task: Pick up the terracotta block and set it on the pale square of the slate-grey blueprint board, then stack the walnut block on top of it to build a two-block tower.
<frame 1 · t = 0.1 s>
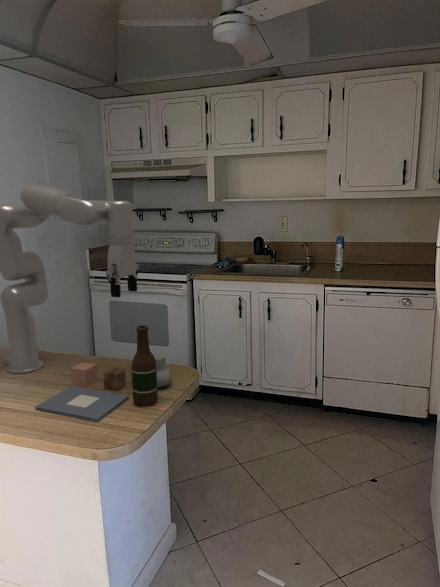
hand: (124, 293, 143), 31 cm above the table, tool pointing down, fingers open, 9 cm apart
walnut block: (115, 387, 146), on the table
air freshener: (157, 384, 149), on the table
blueprint board: (83, 404, 134), on the table
terracotta block: (85, 382, 151), on the table
beer bottle: (145, 402, 136), on the table
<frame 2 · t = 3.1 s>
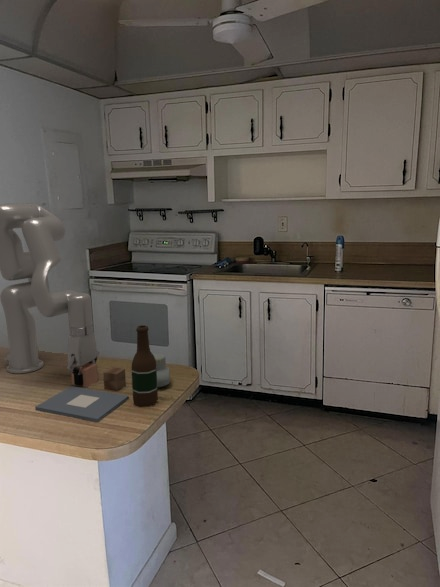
hand: (85, 380, 150), 1 cm above the table, tool pointing down, fingers closed on terracotta block, 6 cm apart
terracotta block: (85, 382, 151), on the table, touching gripper
everything else where it was.
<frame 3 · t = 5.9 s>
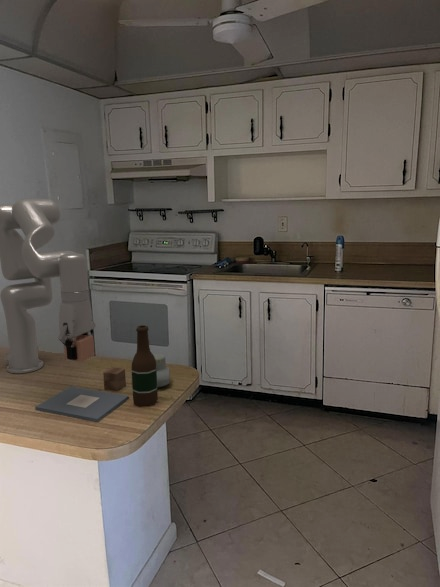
hand: (79, 355, 131), 16 cm above the table, tool pointing down, fingers closed on terracotta block, 6 cm apart
terracotta block: (80, 357, 131), point 15 cm above the table, touching gripper
everything else where it was.
when the fingers open (3 cm above the table, at t = 8.7 s): terracotta block drops 1 cm, resting on blueprint board.
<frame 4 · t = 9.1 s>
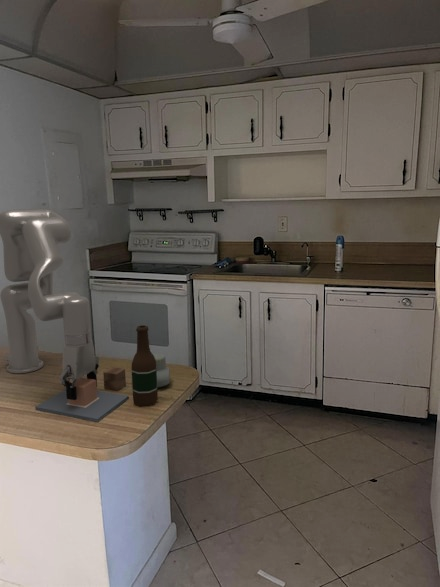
hand: (82, 392, 134), 4 cm above the table, tool pointing down, fingers open, 9 cm apart
terracotta block: (83, 400, 134), point 1 cm above the table, touching blueprint board
everything else where it was.
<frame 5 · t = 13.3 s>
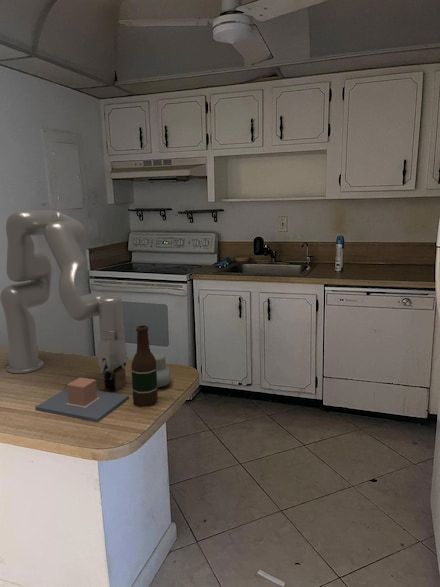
hand: (115, 385, 146), 0 cm above the table, tool pointing down, fingers closed on walnut block, 5 cm apart
walnut block: (115, 387, 146), on the table, touching gripper
everything else where it was.
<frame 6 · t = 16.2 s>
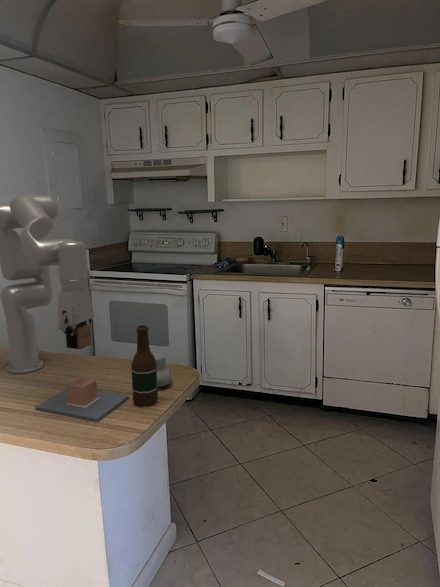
hand: (78, 344, 130), 19 cm above the table, tool pointing down, fingers closed on walnut block, 5 cm apart
walnut block: (79, 346, 131), point 19 cm above the table, touching gripper
everything else where it was.
when the fingers open (8 cm above the table, at t = 18.9 s): walnut block stays where it is, resting on terracotta block.
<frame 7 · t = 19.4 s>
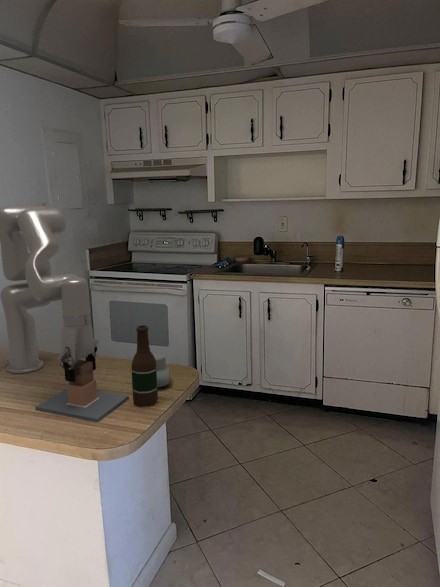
hand: (81, 375, 132), 9 cm above the table, tool pointing down, fingers open, 9 cm apart
walnut block: (81, 382, 133), point 7 cm above the table, touching terracotta block
terracotta block: (83, 400, 134), point 1 cm above the table, touching blueprint board, walnut block
everything else where it was.
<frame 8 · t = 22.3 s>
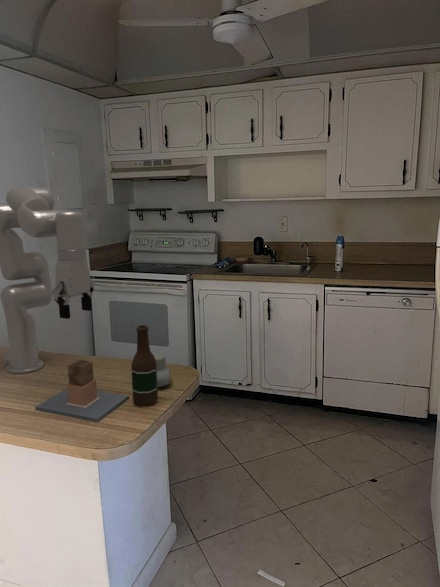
hand: (76, 314, 129), 28 cm above the table, tool pointing down, fingers open, 9 cm apart
nothing on the table moved.
at the end: terracotta block 0.1 cm off-centre on the blueprint board, point 1.1 cm above the blueprint board's base; walnut block 0.1 cm off-centre on the terracotta block, point 6.0 cm above the terracotta block's base; walnut block tilted 0° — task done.
